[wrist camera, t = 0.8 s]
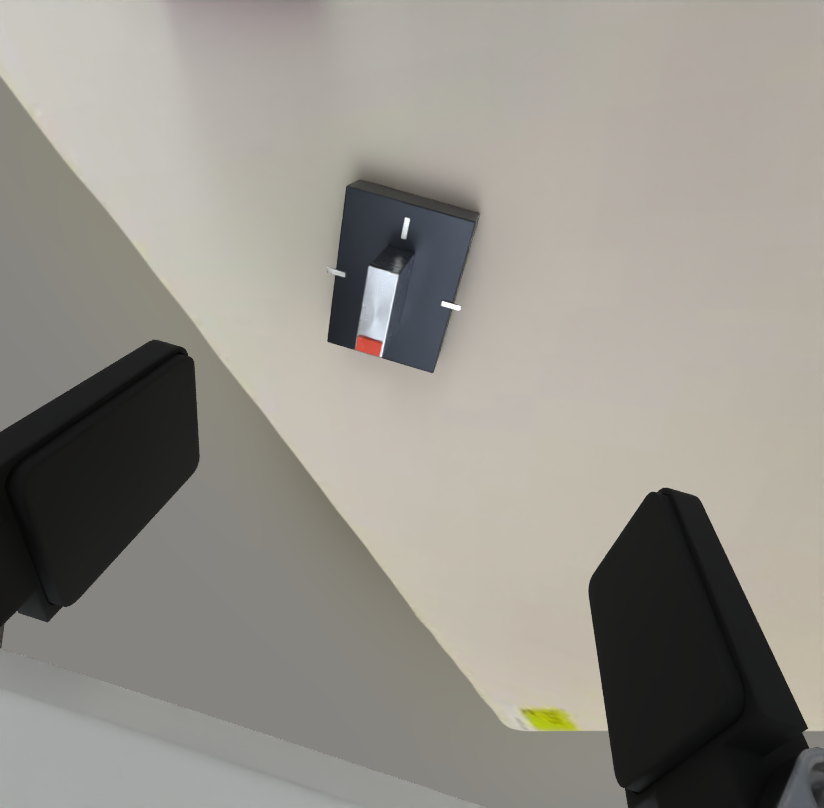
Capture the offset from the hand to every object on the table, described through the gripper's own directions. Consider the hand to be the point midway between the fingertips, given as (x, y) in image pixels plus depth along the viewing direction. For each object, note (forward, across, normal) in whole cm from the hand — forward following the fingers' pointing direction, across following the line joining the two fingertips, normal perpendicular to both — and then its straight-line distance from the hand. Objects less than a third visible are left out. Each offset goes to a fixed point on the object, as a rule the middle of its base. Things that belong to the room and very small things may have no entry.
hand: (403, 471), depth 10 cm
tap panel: (+28, +5, +6) cm, 30 cm away
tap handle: (+25, +5, +6) cm, 27 cm away
